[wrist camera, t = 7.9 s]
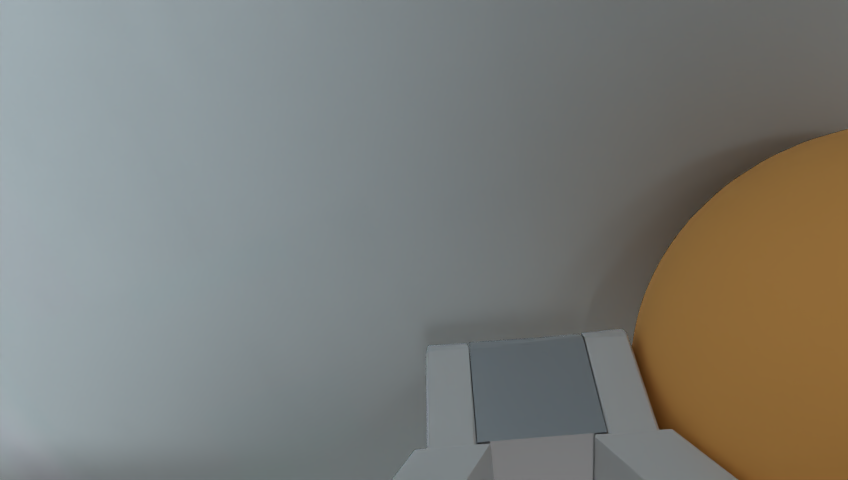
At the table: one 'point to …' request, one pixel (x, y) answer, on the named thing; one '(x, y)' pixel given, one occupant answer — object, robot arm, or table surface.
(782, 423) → the ball
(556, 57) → the table surface
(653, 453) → the robot arm
